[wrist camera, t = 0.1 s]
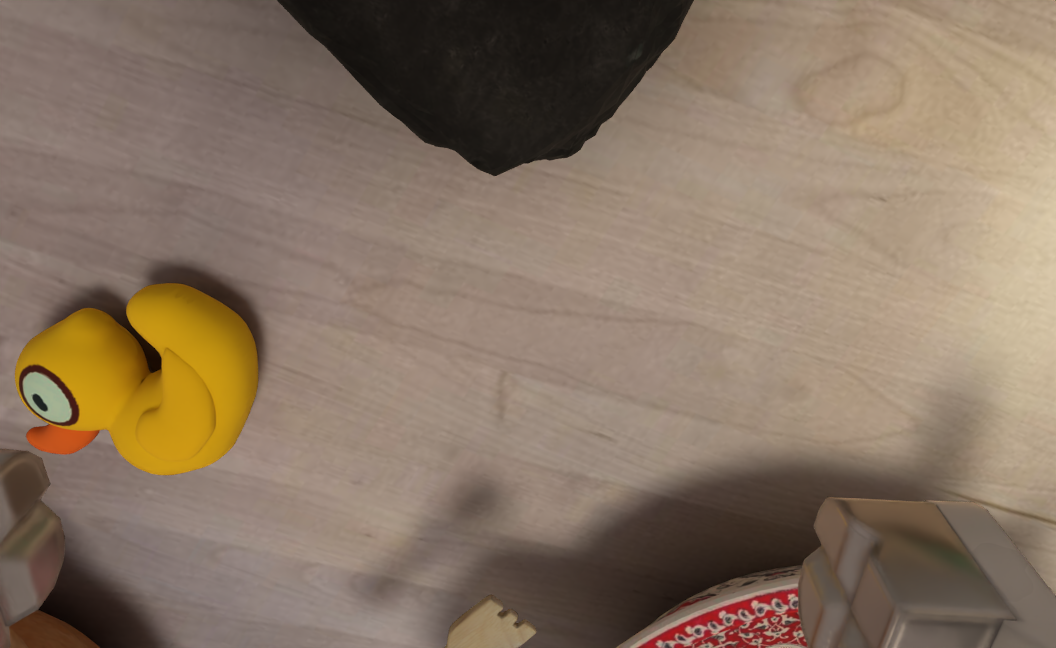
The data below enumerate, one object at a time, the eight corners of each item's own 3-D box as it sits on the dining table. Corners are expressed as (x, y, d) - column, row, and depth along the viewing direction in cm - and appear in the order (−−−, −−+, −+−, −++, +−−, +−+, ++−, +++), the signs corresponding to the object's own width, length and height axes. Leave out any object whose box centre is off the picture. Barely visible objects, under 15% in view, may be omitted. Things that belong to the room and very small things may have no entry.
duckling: (177, 552, 36) (-36, 462, 34) (223, 482, 41) (38, 400, 39) (261, 368, 32) (21, 254, 30) (301, 314, 36) (97, 214, 35)
